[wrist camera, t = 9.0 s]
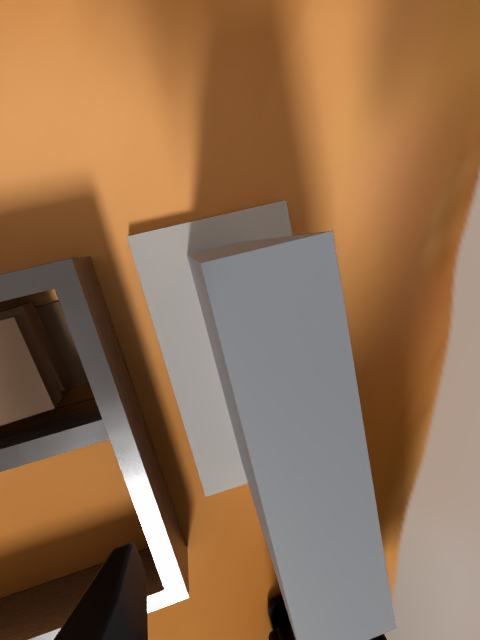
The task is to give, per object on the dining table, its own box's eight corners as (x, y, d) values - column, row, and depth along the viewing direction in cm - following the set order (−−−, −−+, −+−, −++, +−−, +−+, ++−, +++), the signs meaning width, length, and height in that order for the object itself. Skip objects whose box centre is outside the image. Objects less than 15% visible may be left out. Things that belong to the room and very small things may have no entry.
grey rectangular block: (290, 445, 20) (395, 628, 10) (241, 461, 20) (303, 666, 10) (245, 241, 17) (332, 230, 8) (186, 255, 17) (200, 263, 7)
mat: (283, 201, 18) (286, 199, 17) (330, 449, 21) (333, 454, 21) (128, 236, 17) (126, 236, 16) (205, 491, 20) (205, 496, 20)
